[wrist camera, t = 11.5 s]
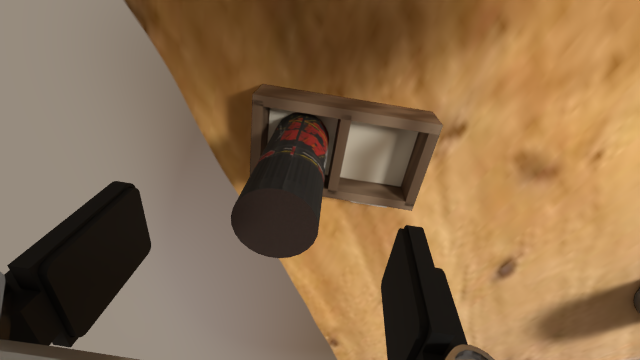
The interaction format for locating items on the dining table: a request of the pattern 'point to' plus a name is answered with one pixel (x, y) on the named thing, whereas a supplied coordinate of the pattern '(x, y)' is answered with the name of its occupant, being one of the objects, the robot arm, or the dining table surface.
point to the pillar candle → (637, 301)
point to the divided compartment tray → (356, 143)
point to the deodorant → (285, 190)
